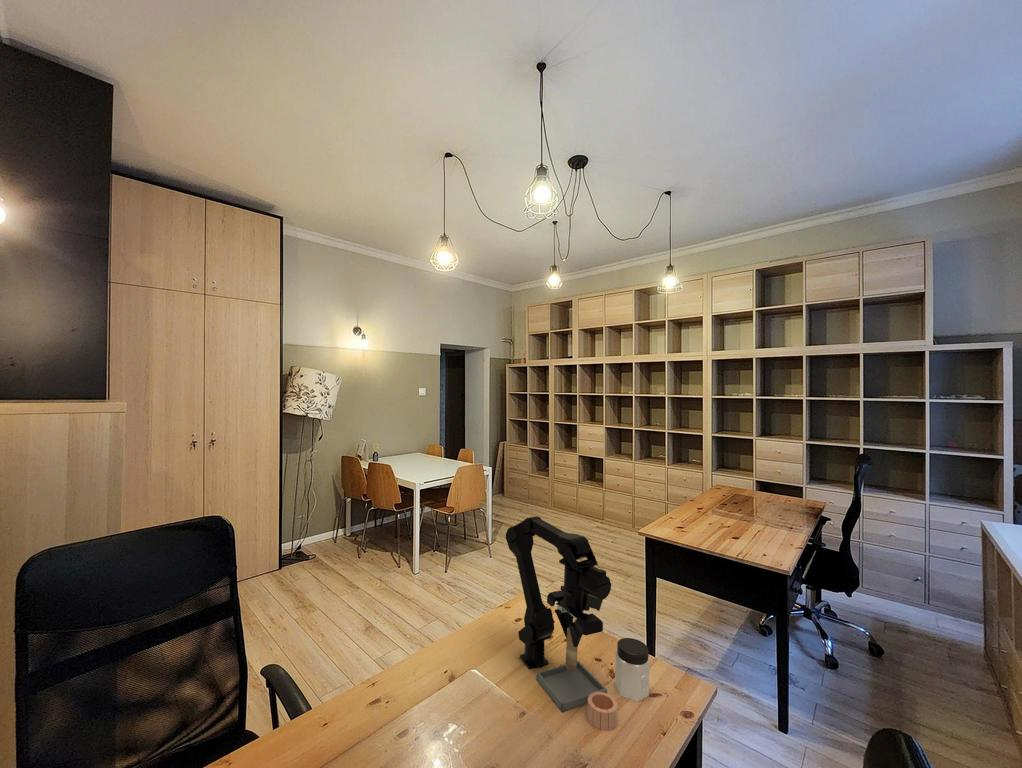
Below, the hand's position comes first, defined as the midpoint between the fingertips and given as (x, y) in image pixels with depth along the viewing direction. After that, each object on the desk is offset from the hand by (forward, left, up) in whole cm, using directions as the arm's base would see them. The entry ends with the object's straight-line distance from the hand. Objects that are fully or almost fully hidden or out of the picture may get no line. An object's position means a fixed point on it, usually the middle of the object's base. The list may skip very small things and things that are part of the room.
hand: (572, 643), depth 110 cm
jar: (+7, +15, -13) cm, 21 cm away
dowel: (0, 0, -6) cm, 6 cm away
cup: (+12, +1, -12) cm, 17 cm away
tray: (0, 0, -12) cm, 12 cm away
